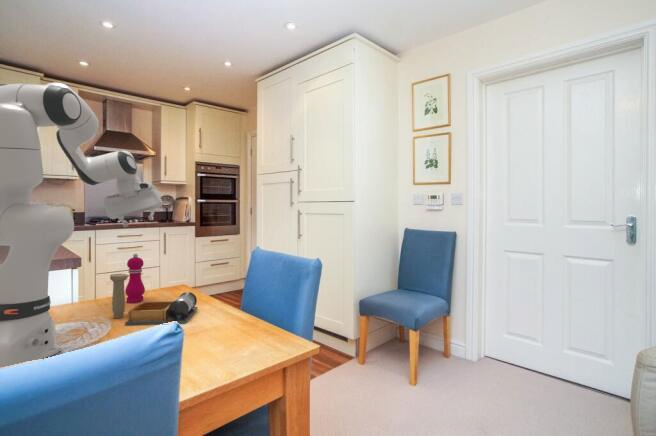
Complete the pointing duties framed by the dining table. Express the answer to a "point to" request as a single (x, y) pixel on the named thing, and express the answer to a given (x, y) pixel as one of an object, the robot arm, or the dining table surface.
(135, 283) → the pepper mill
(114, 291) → the handle
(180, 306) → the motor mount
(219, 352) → the dining table surface
